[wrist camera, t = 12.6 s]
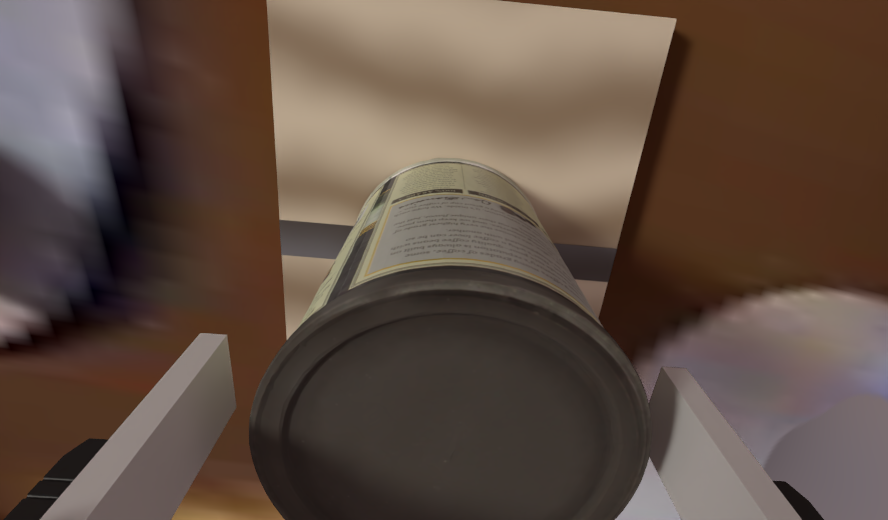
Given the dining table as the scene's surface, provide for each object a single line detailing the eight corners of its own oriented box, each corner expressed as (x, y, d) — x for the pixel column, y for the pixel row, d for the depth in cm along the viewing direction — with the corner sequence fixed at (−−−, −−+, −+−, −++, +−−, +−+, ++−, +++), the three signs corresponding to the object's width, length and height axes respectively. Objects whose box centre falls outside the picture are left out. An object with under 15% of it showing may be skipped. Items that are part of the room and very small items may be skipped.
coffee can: (540, 329, 27) (629, 584, 14) (364, 335, 27) (287, 592, 14) (549, 150, 22) (688, 273, 9) (340, 159, 23) (199, 291, 10)
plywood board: (277, -18, 21) (265, -24, 20) (661, 21, 21) (677, 18, 20) (295, 346, 29) (287, 360, 28) (575, 367, 30) (581, 383, 28)
